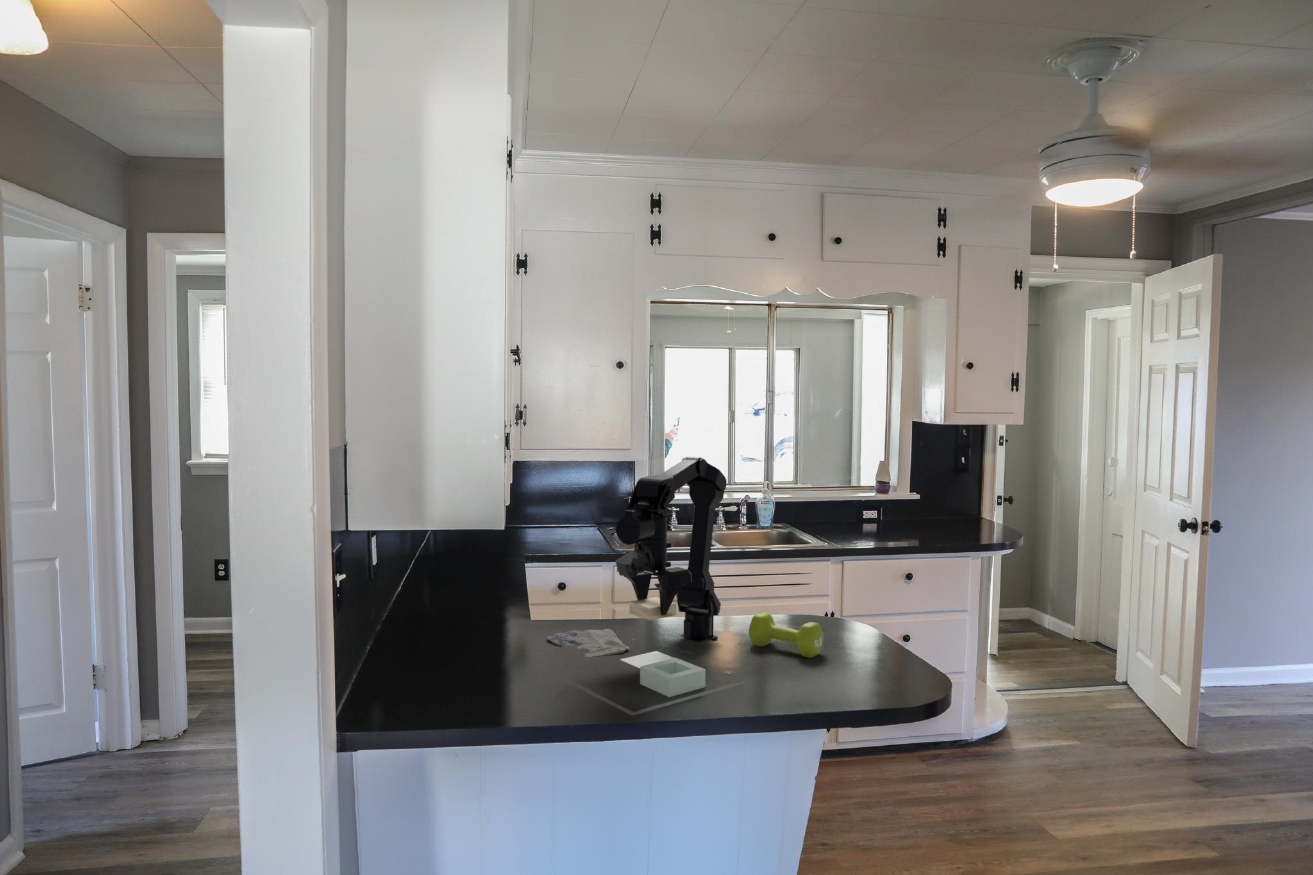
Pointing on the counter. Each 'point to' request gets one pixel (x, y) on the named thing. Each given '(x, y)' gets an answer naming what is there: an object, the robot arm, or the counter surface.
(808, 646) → the dumbbell
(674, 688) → the dish
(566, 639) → the crumpled grey cloth
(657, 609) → the lid
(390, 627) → the counter surface
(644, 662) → the mat
